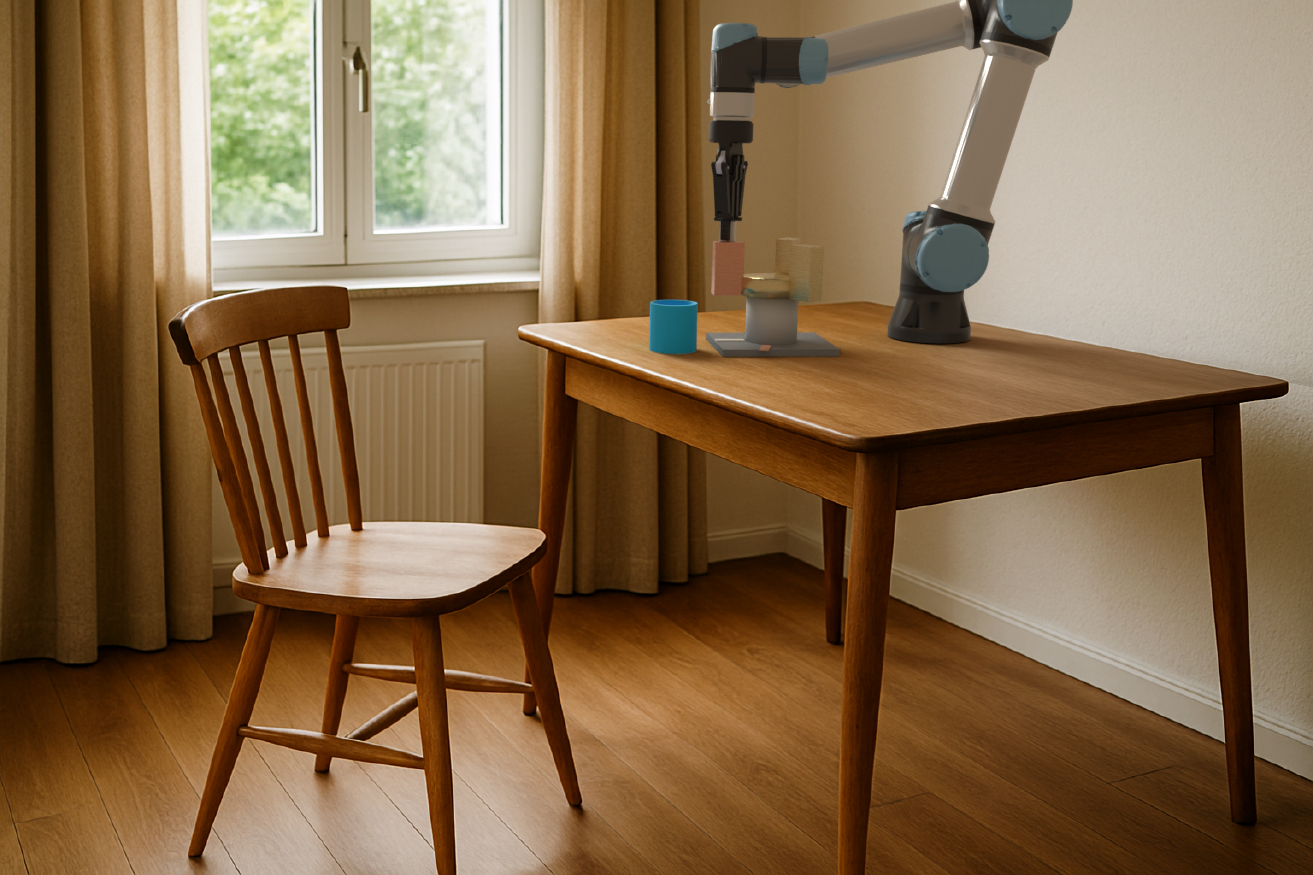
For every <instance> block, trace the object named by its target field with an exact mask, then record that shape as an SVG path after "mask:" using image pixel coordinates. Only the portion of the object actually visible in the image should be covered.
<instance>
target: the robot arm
mask: <svg viewBox="0 0 1313 875" xmlns="http://www.w3.org/2000/svg"><path fill="white" fill-rule="evenodd" d="M1073 5H1074V4H1073V0H955V1H953V2H951V1H950V2H949V3H944V4H940V5H936V6H931V7H927V8H924V9H920V10H916V11H911V12H908V13H903V14H900V15H899V14H898V15H896V16H895V15H894V16H890V17H887V18H882V19H879V20H875V21H871V22H866V23H861V24H857V25H854V26H850V27H849V26H848V27H846V28H841V29H838V30H834V31H830V32H825V33H822V34H817V35H813V36H803V37H801V36H800V37H795V36H792V37H791V36H790V37H789V36H787V37H786V36H785V37H780V36H779V37H778V36H777V37H771V36H770V37H768V36H762V35H761V36H760V35H759V33H758V28H757V26H756V25H755V24H752V23H743V22H724V23H723V22H722V23H718V24H716V26H715V27H714V28H713V30H712V38H711V39H712V40H711V51H710V90H709V92H710V94H709V97H710V98H708V99H707V104H708V105H709V116H710V117H712V120H710V121H709V124H708V141H709V142H710V143H712V144H713V143H714V144H718V146H717V154H716V155H715V161H711V164H710V166H711V171H712V184H713V186H712V187H713V202H714V204H713V205H714V206H713V207H714V217H713V220H714V221H715V222H719V224H718V241H737V228H738V227H737V226H738V222H742V221H743V217H742V213H743V212H742V210H743V202H744V192H745V184H746V182H745V181H746V174H747V170H748V166H749V163H748V160H745V155H744V151H743V150H744V149H743V148H744V147H743V144H752V143H753V142H754V123H753V121H752V120H751V118H754V117H755V98H756V97H755V96H756V93H755V92H756V91H755V90H756V89H755V88H756V87H755V86H756V84H773V85H774V84H775V85H778V86H779V87H780V88H784V89H791V88H796V87H799V86H800V85H804V86H811V85H822V84H823V83H825V82H826V80H827V78H828V79H829V78H832V77H836V76H840V75H841V76H842V75H844V74H849V73H855V72H858V71H861V70H866V69H870V68H873V67H878V66H882V65H887V64H891V63H896V62H899V61H904V60H907V59H908V60H909V59H913V58H918V57H921V56H924V55H929V54H934V53H937V52H941V51H946V50H951V49H956V48H959V47H963V48H965V49H967V50H968V51H972V50H976V49H979V48H980V49H982V50H983V53H984V57H983V61H982V64H981V66H980V71H979V74H978V77H977V79H976V82H975V85H974V89H973V92H972V95H971V98H970V102H969V105H968V109H967V112H966V115H965V117H964V121H963V123H962V127H961V130H960V133H959V136H958V140H957V143H956V147H955V149H954V153H953V156H952V158H951V162H950V165H949V168H948V171H947V175H946V177H945V180H944V184H943V187H942V191H941V194H940V195H939V197H938V198H936V199H934V200H933V201H931V202H929V203H928V205H927V209H926V210H916V211H910V212H909V213H907V214H906V215H905V217H904V220H903V221H904V222H903V226H902V230H901V231H902V235H903V236H902V250H901V262H900V264H901V265H900V281H899V283H900V284H899V292H898V293H899V295H898V297H897V300H896V301H895V305H894V308H893V310H892V313H891V314H890V318H889V321H888V324H887V332H886V333H887V334H886V335H887V337H889V338H891V339H895V340H899V341H904V342H912V343H919V344H920V343H923V344H957V343H958V344H959V343H965V342H968V341H970V340H971V335H972V334H971V333H972V325H971V322H970V321H971V320H970V318H969V314H968V310H967V305H966V301H965V297H964V296H965V295H964V294H965V290H967V289H969V288H971V287H972V286H974V285H975V284H977V283H978V282H979V281H980V279H981V278H982V277H983V276H984V274H985V273H986V271H987V269H988V265H989V261H990V249H989V248H990V247H989V242H990V240H991V237H992V234H993V230H994V228H995V224H996V220H995V218H994V216H993V215H992V212H991V207H992V204H993V201H994V198H995V194H996V191H997V189H998V185H999V182H1000V180H1001V176H1002V173H1003V170H1004V168H1005V164H1006V161H1007V158H1008V155H1009V152H1010V149H1011V147H1012V143H1013V140H1014V137H1015V134H1016V130H1017V128H1018V124H1019V122H1020V118H1021V115H1022V112H1023V109H1024V106H1025V104H1026V99H1027V97H1028V94H1029V92H1030V88H1031V84H1032V81H1033V79H1034V75H1035V72H1036V69H1037V68H1038V67H1039V66H1041V65H1042V64H1044V63H1046V62H1048V61H1050V60H1049V59H1050V56H1051V53H1052V51H1053V48H1054V44H1055V41H1056V38H1057V35H1058V33H1059V32H1060V31H1061V30H1062V29H1063V28H1064V26H1065V25H1066V23H1067V21H1068V20H1069V18H1070V15H1071V12H1072V9H1073Z"/></svg>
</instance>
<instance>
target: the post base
mask: <svg viewBox="0 0 1313 875" xmlns="http://www.w3.org/2000/svg"><path fill="white" fill-rule="evenodd" d="M745 305H746V306H745V328H744V331H745V332H706V333H705V340H707V342H708V343H709V344H710V345H711V346H712V347H713V348H714V349H715V350H716V351H717V352H718V354H719V355H721V357H722V358H723V357H724V358H728V357H729V358H730V357H731V358H735V357H736V358H737V357H739V358H740V357H741V358H743V357H745V358H746V357H748V358H749V357H750V358H751V357H753V358H755V357H766V358H767V357H768V358H769V357H771V358H772V357H780V358H782V357H840V356H841V349H840V348H839V347H837V346H836V345H835V344H833V343H831V342H830V341H828V340H827V339H825V338H823V336H821V335H819V334H817V333H816V332H815V331H814V332H813V331H812V332H811V331H810V332H805V331H804V332H802V331H800V332H799V331H798V320H799V319H798V317H799V300H793V299H764V298H753V297H746V302H745Z"/></svg>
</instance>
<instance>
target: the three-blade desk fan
mask: <svg viewBox="0 0 1313 875" xmlns="http://www.w3.org/2000/svg"><path fill="white" fill-rule="evenodd" d="M775 240H776V241H775V258H774V259H775V260H774V261H775V264H774V272H772V273H771V272H764V273H763V272H760V273H755V272H754V273H744V272H745V249H746V248H745V242H744V241H742V240H736V241H719V240H712V254H711V255H712V257H711V262H712V263H711V265H712V266H711V291H710V293H711V294H712V295H713V296H742V297H746V298H747V297H753V298H764V299H793V300H798V302H799V301H800V302H806V303H812V302H813V303H814V302H822V294H823V276H824V275H823V274H824V256H825V255H824V254H825V252H824V250H825V247H824V246H820V245H812V244H804V243H803V244H801V243H802V241H801V237H787V236H786V237H781V238H776V239H775Z"/></svg>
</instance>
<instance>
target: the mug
mask: <svg viewBox="0 0 1313 875" xmlns="http://www.w3.org/2000/svg"><path fill="white" fill-rule="evenodd" d="M698 305H699V304H698V302H697V301H693V300H687V299H657V300H651V301H650V303H649V339H648V343H649V344H648V345H649V348H648V350H649V351H650V352H653V353H658V354H667V355H686V354H692V353H695V352H697V351H698V350H697V347H698V346H697V345H698V343H697V342H698V339H697V338H698V310H699V309H698V308H699V307H698Z"/></svg>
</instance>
